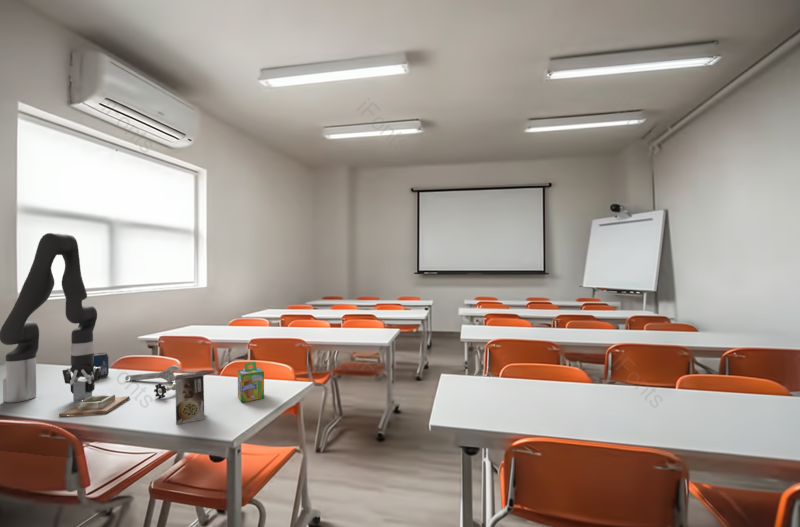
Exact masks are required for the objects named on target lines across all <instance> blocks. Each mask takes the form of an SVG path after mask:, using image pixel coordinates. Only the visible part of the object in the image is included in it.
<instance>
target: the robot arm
mask: <svg viewBox="0 0 800 527" xmlns="http://www.w3.org/2000/svg"><path fill="white" fill-rule="evenodd" d="M57 256H62V258H63V261H64V270H63V275H62V278H61V288H62V291H63V295H64V297H65V317H66V319H67V321H69V323H71V324H77V325H78V326H77V327H76V328H75V329H72V331H71V339H70V340H71V341H70V342H71V344H70V365H71V367H70V368H65V369H63V370H62V376H63V380H64V383H65V384H66V385H70V393H71V394H73V382H76V381H78V380H80V378H84V379H87V381H88V383H89V384H88V392H89V393H90V392H92V393H93V391H94V390H95V384H96V382H98V381H100V380H101V379H100V376H101V371H102V367H95V366H94V365H93V363H94V354H95V346H94V345H95V344H94V330H95V326H96V322H97V319H98V312H97V309H96V308H95V307H94V305H93V306H92V305H91V304H90V305H83V301H85V300H86V299H87V298H88V294H87V290H86V287H85V284H84V281H83V276H82V271H81V270H82V269H81V261H80V252H79V245H78V240H77V239H76V237H75V236H73V235H72V234H69V233H68V234H67V233H60V232H58V233H57V232H48V233H45V234H44V235H42V236H41V237H40V240H39V241H38V244H37V247H36V251H35V254H34V257H33V258H34V259H33V262H32V264H31V266H30V269H29V272H28V274H27V277H26V278H25V280H24V282H23V285H22V286H21V289H20V292H19V295H18V297H17V299H16V300H15V303H14V305H13V308H12V309H11V311H10V313H9V314H8V316H7V318H6V319H5V321H4V322H3V324H2V326H1V328H0V342H1V343H2V344H3V345H6V346H12V345H14V346H15V345H17V346H16V347H15V348H14V349H13V350H11V351H9V352H7V353H6V355H5V378H4V379H2V403H3V402H4V403H18V402H24V401H28V400H31V399H34V398H36V397H37V353H38V350H39V345H40V344H39V341H40V329H39V326H38V324H37V322H35V321H32V320H28V319H29V318H30V316H31V315H32V314H33V313H34V312H35V311H36V310H38V309H39V308H40V307H41V306H42V305H44V303H46V302H47V300H48V299H49V297H50V296H51V294H52V292H53V289H54V286H55V278H54V276H53V271H52V266H53V262H54V261H55V258H56V257H57ZM93 370H94V372H95V374H94V375H93V373H92V371H93ZM71 374H72V375H71Z"/></svg>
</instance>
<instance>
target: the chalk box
mask: <svg viewBox="0 0 800 527" xmlns="http://www.w3.org/2000/svg"><path fill="white" fill-rule="evenodd" d="M249 366H252V367H250V368H249ZM243 367H244V368H243V369H238V370H237V398H238V400H239V401H240V402H241V403H247V402H252V401H257V400H263V399H265V371H264V370H263V369H262V368H260V367H258V366H257V362H256V361H249V362H245V363H244V366H243Z"/></svg>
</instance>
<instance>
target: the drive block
mask: <svg viewBox="0 0 800 527" xmlns="http://www.w3.org/2000/svg"><path fill="white" fill-rule="evenodd" d="M88 384H89V383H88V381H87V379H85V378H84V379H82V378H81V379H80V378H79V379H78V381H76V382H73V395H72V396H73V399H72V400H73V401H76V402H81V400H85V399H87V398H89V397H90V396H93V392H90V393H89V392H88Z"/></svg>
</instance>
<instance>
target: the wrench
mask: <svg viewBox="0 0 800 527" xmlns="http://www.w3.org/2000/svg"><path fill="white" fill-rule="evenodd" d="M181 371H182V368H181V367H180V366H179V365H175V364H174V365H171V366H169V367H167V368H165V370H162V371H156V372H145V373H143V372H142V373H133V374H128V375H126V376H125V381H126V380H128V379H130V380H136V381H143V380H145V381H146V380H152V379H163V380H164V381H166V382H167V383H169V384H170V383H172V382H175V378H176V375H175V374H174V372H181Z"/></svg>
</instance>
